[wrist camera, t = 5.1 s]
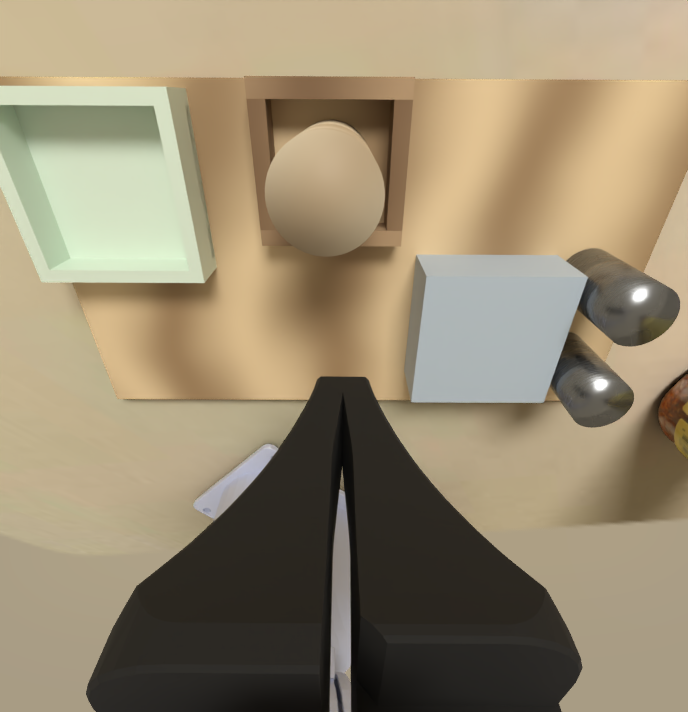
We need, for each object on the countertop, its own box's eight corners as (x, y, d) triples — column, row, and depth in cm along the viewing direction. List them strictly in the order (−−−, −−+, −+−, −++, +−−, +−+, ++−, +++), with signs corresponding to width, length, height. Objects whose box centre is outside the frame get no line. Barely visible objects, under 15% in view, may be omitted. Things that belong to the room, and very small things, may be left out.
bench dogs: (622, 248, 17) (693, 285, 13) (574, 372, 20) (620, 427, 17) (565, 248, 17) (621, 285, 13) (526, 372, 20) (563, 427, 17)
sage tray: (185, 88, 14) (166, 86, 12) (217, 267, 17) (204, 283, 16) (-1, 87, 14) (-44, 85, 12) (68, 266, 17) (41, 282, 16)
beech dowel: (387, 165, 15) (409, 198, 10) (331, 222, 16) (326, 278, 11) (330, 98, 14) (322, 97, 9) (275, 165, 15) (240, 197, 10)
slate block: (557, 255, 17) (587, 277, 15) (522, 371, 20) (543, 402, 18) (416, 254, 17) (426, 276, 15) (404, 370, 20) (411, 402, 18)
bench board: (707, 81, 14) (756, 79, 13) (580, 391, 22) (600, 415, 20) (9, 77, 14) (-36, 74, 12) (124, 389, 22) (105, 413, 20)
